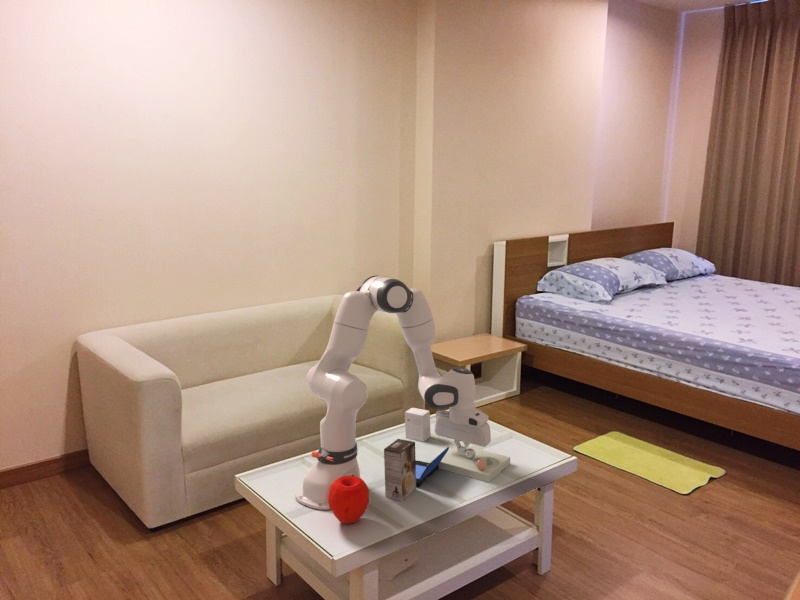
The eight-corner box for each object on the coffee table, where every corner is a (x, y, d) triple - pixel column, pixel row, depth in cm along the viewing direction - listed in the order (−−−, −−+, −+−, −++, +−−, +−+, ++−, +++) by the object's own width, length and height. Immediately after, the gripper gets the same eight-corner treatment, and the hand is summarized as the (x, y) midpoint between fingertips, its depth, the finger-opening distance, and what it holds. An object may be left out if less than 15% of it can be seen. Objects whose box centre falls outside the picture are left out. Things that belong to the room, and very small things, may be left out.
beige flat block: (488, 482, 206) (488, 475, 206) (435, 467, 218) (435, 460, 217) (510, 463, 219) (510, 457, 219) (459, 450, 230) (459, 444, 230)
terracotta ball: (483, 472, 208) (483, 462, 207) (474, 470, 210) (474, 460, 209) (488, 468, 211) (488, 458, 210) (479, 466, 213) (479, 456, 212)
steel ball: (463, 458, 218) (472, 461, 216) (463, 448, 217) (473, 452, 215) (467, 454, 221) (476, 457, 219) (468, 445, 220) (477, 448, 218)
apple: (341, 537, 177) (340, 492, 174) (321, 519, 186) (319, 476, 183) (377, 523, 183) (376, 480, 181) (355, 506, 193) (354, 465, 190)
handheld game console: (415, 463, 221) (415, 438, 220) (450, 471, 215) (450, 445, 213) (392, 482, 208) (392, 455, 206) (429, 491, 202) (429, 464, 200)
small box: (430, 437, 243) (430, 410, 241) (423, 442, 238) (423, 415, 236) (412, 432, 247) (412, 406, 245) (405, 437, 242) (404, 411, 240)
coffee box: (399, 484, 206) (398, 437, 203) (416, 488, 203) (416, 441, 200) (384, 497, 198) (383, 448, 195) (402, 501, 195) (401, 452, 192)
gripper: (431, 411, 221) (431, 448, 224) (484, 423, 210) (484, 462, 212) (440, 405, 226) (440, 442, 229) (493, 417, 215) (492, 455, 217)
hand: (462, 452), depth 220 cm, fingers closed
